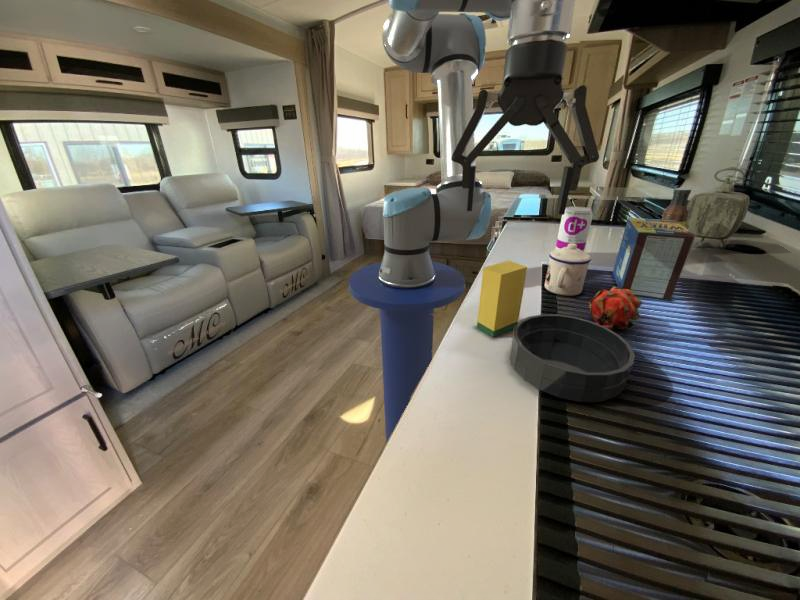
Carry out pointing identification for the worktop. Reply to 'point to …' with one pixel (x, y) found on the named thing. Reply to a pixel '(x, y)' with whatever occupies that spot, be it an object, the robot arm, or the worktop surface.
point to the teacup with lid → (567, 270)
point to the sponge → (501, 297)
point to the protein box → (652, 257)
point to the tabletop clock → (717, 211)
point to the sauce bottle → (678, 206)
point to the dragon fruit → (615, 308)
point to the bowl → (571, 357)
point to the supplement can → (574, 227)
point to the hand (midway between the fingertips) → (513, 211)
